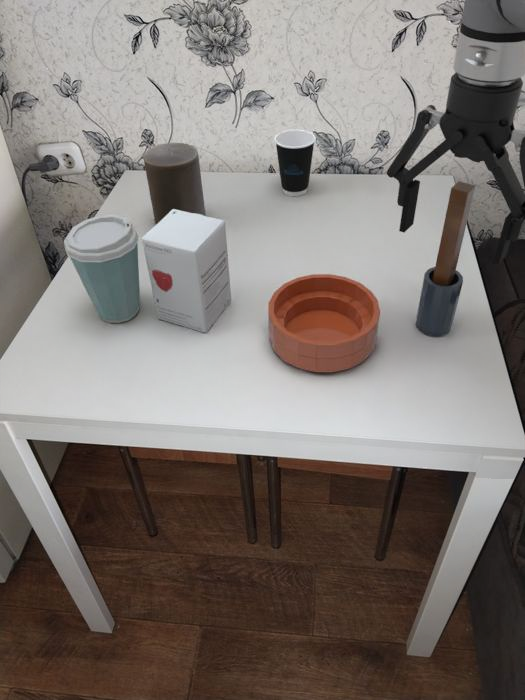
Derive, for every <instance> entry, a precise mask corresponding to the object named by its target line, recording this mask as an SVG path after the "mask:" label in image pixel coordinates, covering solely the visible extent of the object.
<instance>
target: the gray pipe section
mask: <svg viewBox="0 0 525 700" xmlns="http://www.w3.org/2000/svg"><path fill="white" fill-rule="evenodd" d="M434 271H435V266H432V267H429V268H428V269H427V270H426V271H425V272H424V275H423V276H424V277H423V280H422V285H421V291H420V296H419V301H418V306H417V312H416V319H415V327H416V330H418V331H419V332H420V333H421V334H423V335H424V336H428V337H433V338H441V337H444V336H446V335H448V334H449V333H450V332H451V330H452V327H453V324H454V320H455V316H456V311H457V308H458V303H459V300H460V296H461V291H462V288H463V285H464V277H463V275H462V274H461V272H460V271H458V270H457V269H456V271H455V275H454V280H453V284H452V286H441V285H437V284H435V283H433V282H432V281H433V276H434Z"/></svg>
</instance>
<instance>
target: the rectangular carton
mask: <svg viewBox="0 0 525 700" xmlns="http://www.w3.org/2000/svg"><path fill="white" fill-rule="evenodd" d="M227 242H228V241H227V228H226V220H224V219H219V218H217V217H216V218H215V217H210V216H207V215H206V216H204V215H201V214H196V213H189V212H185V211H180V210H176V209H172V210H171V211H170V212H169V213H168V214H167V215H166V216H165V217H164V218H163V219H162V220H161V221H160V222H159V223H158V224H157V225H156V224H155V225H154V226H153V227H152V228H150V229H149V230H148V231H147V233H145V234H144V235H143V237H141V244H142V247H143V252H144V257H145V262H146V266H147V272H148V276H149V283H150V286H151V291H152V295H153V296H152V297H153V302H154V307H155V312H156V315H157V319H159V320H161V321H164V322H168V323H171V324H175V325H178V326H182V327H185V328H188V329H191V330H195V331H198V332H201V333H205V334H206V333H208V331H209V330H210V329H211V328H212V327H213V325H214V324H215V322H216V321H217V320H218V319H219V317H220V316H221V315H222V313H223V312H224V311H225V309H226V308H227V307H228V306H229V304H230V303H231V302H232V292H231V291H232V290H231V289H232V288H231V279H230V267H229V255H228V243H227Z"/></svg>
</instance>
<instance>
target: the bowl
mask: <svg viewBox="0 0 525 700" xmlns="http://www.w3.org/2000/svg"><path fill="white" fill-rule="evenodd" d="M267 308H268V309H267V310H268V311H267V313H268V315H267V316H268V339H269V342H270V344H271V347H272V349H273V351H274V353H275V354H276V355H277V356H278V357H280V358H281V359H282V360H283V361H284V362H285V363H287V364H290V365H292V366H293V367H296V368H298V369H301V370H304V371H310V372H314V373H337V372H340V371H344V370H348V369H351V368H354V367H355V366H357V365H359V364H361V363H362V362H365V360H366V359H367V358H368V357H369V356H370V355H371V354H372V352H373V351H374V349H375V346H376V343H377V338H378V332H379V325H380V324H379V323H380V317H381V309H380V304H379V300H378V299H377V297H376V296H375V294H374V293H373V292H372V291H371V289H369V288H368V287H366V286H365V285H364V284H362V283H361V282H360V281H357V280H354V279H351V278H349V277H346V276H342V275H336V274H331V273H330V274H329V273H318V274H317V273H313V274H308V275H303V276H298V277H296V278H293V279H291V280H289V281H287V282H285V283H283V284H282V285H281V286H280V287H278V289H276V290H275V291H274V292H273V294H272V295H271V297H270V299H269V301H268V307H267Z"/></svg>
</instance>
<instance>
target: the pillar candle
mask: <svg viewBox="0 0 525 700" xmlns="http://www.w3.org/2000/svg"><path fill="white" fill-rule="evenodd" d="M143 162H144V169H145V175H146V180H147V185H148V191H149V198H150V202H151V203H150V204H151V207H152V213H153V219H154V224H155V225H157V224H158V223H159V222H160V221H161V220H162V219H163V218H164V217H165V216H166V215H167V214H168V213H169V212H170V211H171V210H172V209H176V210H180V211H185V212H189V213H196V214H201V215H204V216H207V215H206V207H205V198H204V189H203V183H202V174H201V164H200V157H199V151H198V148H197V147H196V146H195V145H190V144H189V143H184V142H167V143H159V144H156V145H154V146H153V147H150V148H149V149H147V150H146V151H145V152H144V153H143Z"/></svg>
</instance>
